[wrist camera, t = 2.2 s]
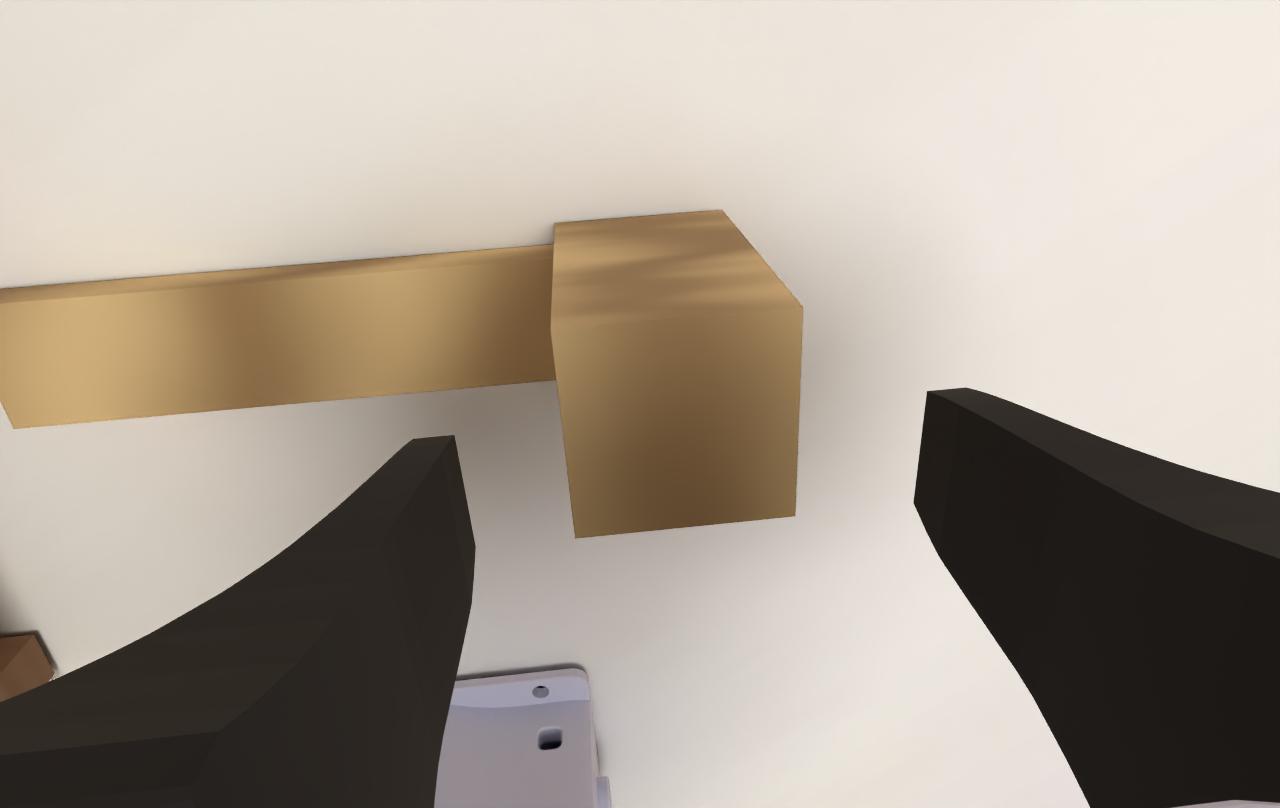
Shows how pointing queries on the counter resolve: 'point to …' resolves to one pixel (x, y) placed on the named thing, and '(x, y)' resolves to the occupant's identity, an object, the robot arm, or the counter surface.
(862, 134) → the counter surface
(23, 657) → the shelf
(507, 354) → the tool
